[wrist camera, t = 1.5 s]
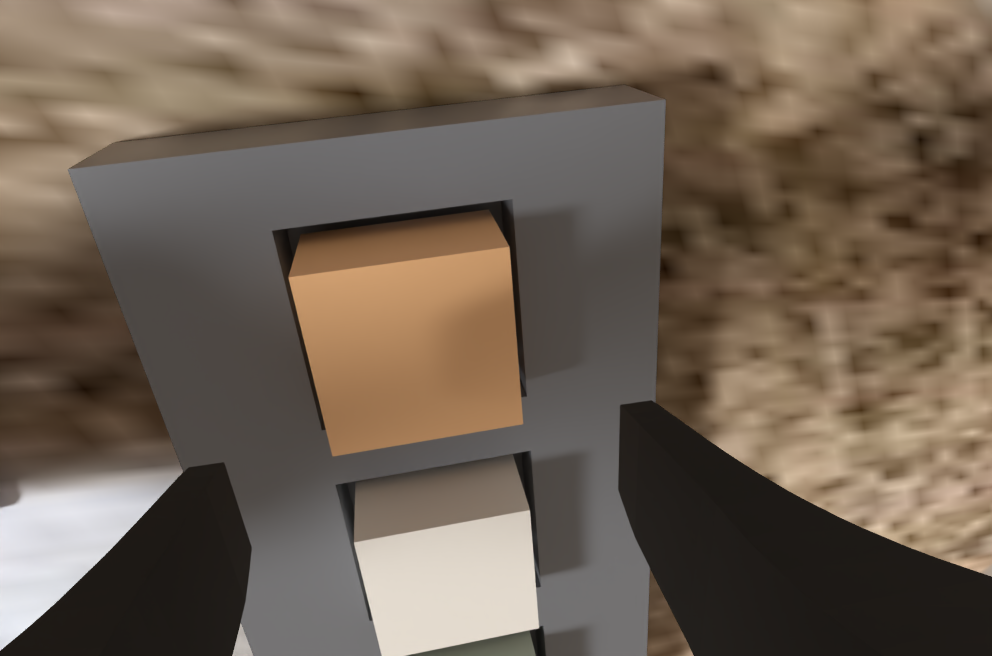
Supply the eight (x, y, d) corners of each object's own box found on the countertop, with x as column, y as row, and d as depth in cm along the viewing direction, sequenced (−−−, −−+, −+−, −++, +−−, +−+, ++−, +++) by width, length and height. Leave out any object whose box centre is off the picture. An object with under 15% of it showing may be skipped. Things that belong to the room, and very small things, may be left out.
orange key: (337, 394, 20) (332, 456, 17) (300, 233, 17) (287, 277, 15) (503, 368, 20) (523, 424, 18) (488, 209, 18) (509, 246, 15)
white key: (381, 584, 23) (382, 660, 21) (355, 473, 21) (353, 542, 18) (520, 558, 24) (539, 628, 21) (510, 446, 22) (529, 510, 19)
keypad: (317, 736, 29) (312, 809, 27) (113, 142, 17) (67, 169, 15) (620, 670, 31) (644, 733, 28) (624, 84, 19) (665, 99, 16)
